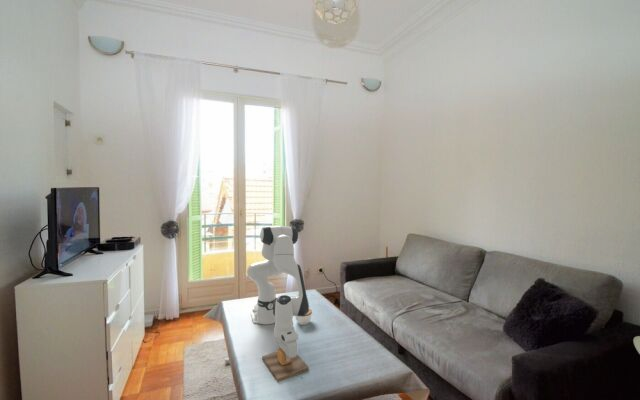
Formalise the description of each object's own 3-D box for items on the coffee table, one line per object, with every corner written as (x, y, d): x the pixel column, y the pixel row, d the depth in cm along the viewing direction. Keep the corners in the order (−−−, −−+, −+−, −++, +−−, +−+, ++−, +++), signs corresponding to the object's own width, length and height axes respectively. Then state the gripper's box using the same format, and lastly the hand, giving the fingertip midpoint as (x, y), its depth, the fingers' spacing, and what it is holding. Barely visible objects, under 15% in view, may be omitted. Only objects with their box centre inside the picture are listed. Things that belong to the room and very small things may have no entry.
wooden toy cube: (277, 359, 148) (277, 348, 148) (287, 356, 151) (287, 345, 151) (281, 365, 144) (281, 354, 143) (291, 361, 146) (291, 351, 146)
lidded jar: (312, 319, 195) (312, 305, 194) (310, 327, 184) (310, 312, 183) (296, 318, 196) (296, 304, 195) (293, 326, 185) (293, 311, 185)
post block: (262, 359, 152) (261, 349, 151) (290, 349, 160) (290, 340, 160) (277, 382, 135) (277, 370, 134) (308, 370, 143) (308, 359, 143)
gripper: (270, 322, 153) (270, 348, 154) (287, 341, 136) (287, 370, 137) (281, 319, 157) (281, 345, 158) (299, 337, 139) (299, 365, 140)
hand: (284, 357), depth 147 cm, fingers closed on wooden toy cube, 5 cm apart
